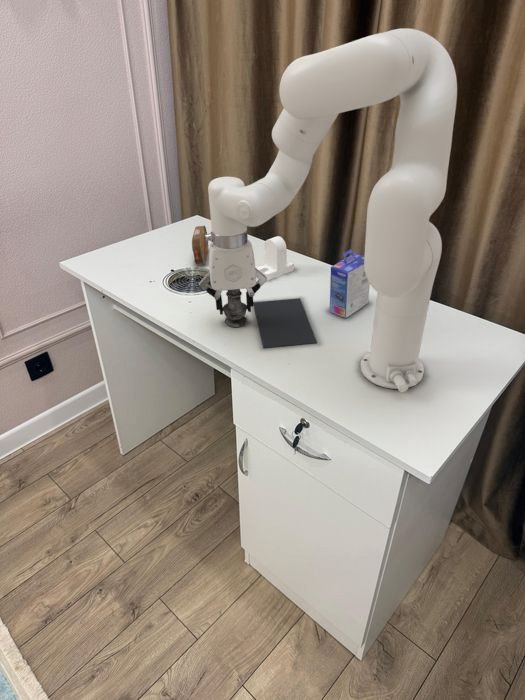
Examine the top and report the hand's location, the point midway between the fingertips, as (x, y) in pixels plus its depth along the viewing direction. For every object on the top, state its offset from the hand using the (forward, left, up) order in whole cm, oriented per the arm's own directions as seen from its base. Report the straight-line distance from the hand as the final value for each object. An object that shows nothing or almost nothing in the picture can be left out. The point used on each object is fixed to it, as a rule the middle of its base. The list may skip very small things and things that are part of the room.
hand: (235, 309), depth 119 cm
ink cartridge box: (+2, -28, -4) cm, 28 cm away
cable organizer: (+24, -13, -4) cm, 28 cm away
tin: (+37, +7, -4) cm, 38 cm away
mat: (-2, -11, -3) cm, 12 cm away
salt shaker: (0, 0, -3) cm, 3 cm away
